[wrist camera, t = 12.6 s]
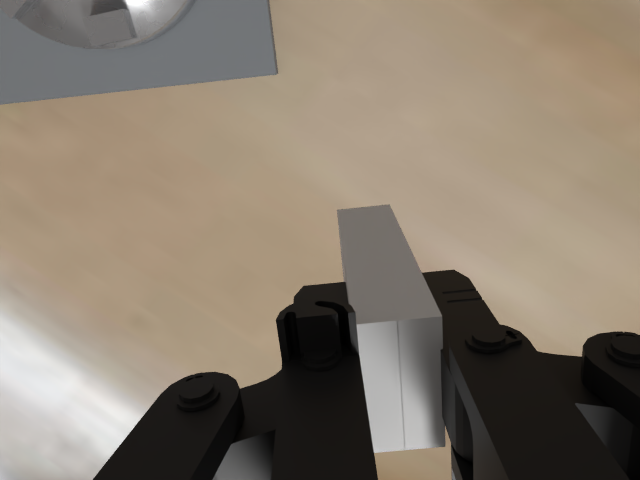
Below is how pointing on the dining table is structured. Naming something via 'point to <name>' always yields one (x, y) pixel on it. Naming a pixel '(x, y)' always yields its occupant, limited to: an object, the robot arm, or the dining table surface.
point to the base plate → (141, 55)
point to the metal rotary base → (98, 20)
